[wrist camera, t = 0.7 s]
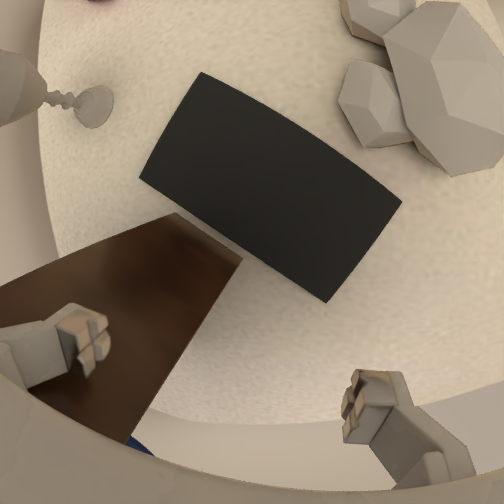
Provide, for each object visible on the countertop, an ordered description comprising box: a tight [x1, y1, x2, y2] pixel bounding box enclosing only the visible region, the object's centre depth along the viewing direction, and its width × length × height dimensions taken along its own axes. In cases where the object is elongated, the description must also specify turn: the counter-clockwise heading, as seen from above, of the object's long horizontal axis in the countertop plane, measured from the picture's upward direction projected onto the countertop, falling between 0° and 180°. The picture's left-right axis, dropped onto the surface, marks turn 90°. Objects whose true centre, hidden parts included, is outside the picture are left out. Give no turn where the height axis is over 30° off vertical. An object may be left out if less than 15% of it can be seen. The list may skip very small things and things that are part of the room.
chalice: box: [0, 50, 113, 129], centre depth 18 cm, size 7×7×18 cm
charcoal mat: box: [139, 72, 402, 303], centre depth 26 cm, size 22×12×1 cm, turn 57°
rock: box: [338, 0, 504, 177], centre depth 16 cm, size 18×20×10 cm
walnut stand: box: [0, 213, 243, 445], centre depth 18 cm, size 8×12×26 cm, turn 147°
